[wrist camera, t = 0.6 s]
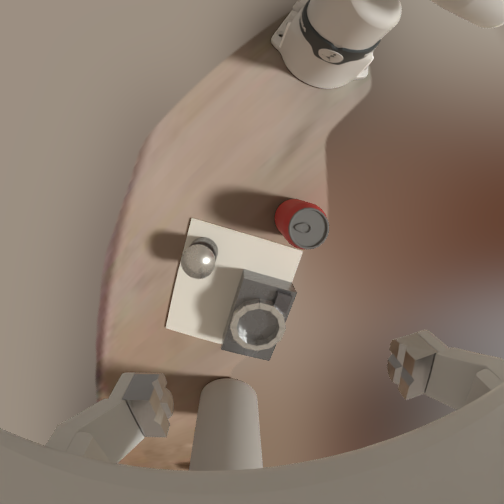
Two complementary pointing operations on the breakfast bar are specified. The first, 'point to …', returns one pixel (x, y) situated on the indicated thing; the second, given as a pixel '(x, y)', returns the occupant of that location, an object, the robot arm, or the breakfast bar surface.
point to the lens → (199, 258)
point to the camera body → (258, 315)
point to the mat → (224, 278)
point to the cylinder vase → (227, 428)
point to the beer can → (302, 223)
